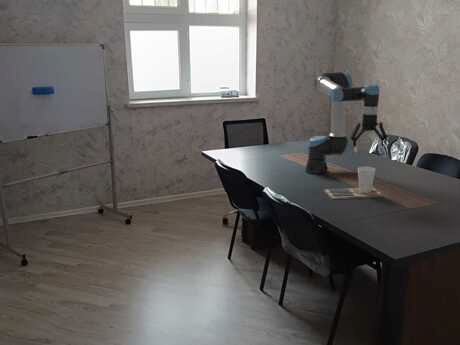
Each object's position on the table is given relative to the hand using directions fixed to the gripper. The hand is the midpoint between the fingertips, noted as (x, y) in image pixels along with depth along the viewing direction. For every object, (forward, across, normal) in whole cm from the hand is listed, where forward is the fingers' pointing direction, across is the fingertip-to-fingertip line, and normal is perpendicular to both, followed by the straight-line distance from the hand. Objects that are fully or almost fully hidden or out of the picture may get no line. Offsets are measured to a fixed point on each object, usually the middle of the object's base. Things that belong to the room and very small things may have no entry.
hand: (367, 151), depth 242 cm
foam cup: (+22, -1, -3) cm, 22 cm away
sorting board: (+23, -8, -3) cm, 25 cm away
